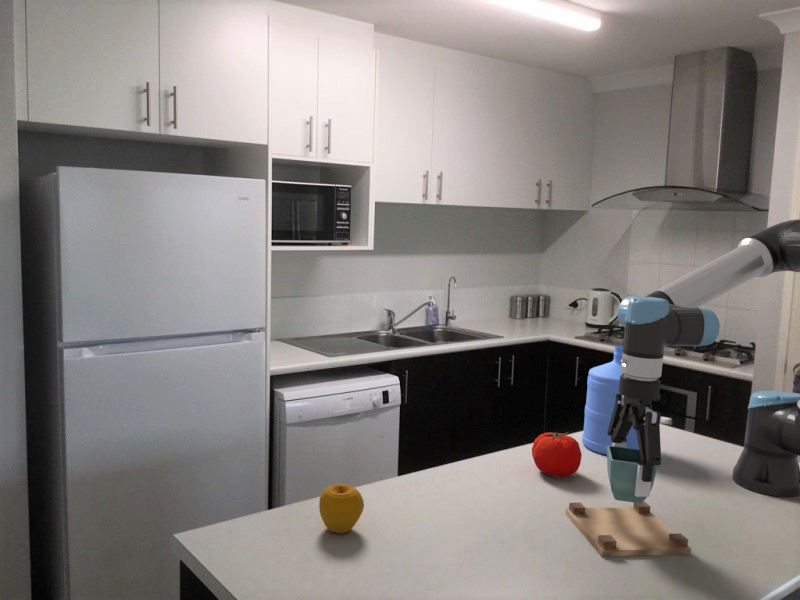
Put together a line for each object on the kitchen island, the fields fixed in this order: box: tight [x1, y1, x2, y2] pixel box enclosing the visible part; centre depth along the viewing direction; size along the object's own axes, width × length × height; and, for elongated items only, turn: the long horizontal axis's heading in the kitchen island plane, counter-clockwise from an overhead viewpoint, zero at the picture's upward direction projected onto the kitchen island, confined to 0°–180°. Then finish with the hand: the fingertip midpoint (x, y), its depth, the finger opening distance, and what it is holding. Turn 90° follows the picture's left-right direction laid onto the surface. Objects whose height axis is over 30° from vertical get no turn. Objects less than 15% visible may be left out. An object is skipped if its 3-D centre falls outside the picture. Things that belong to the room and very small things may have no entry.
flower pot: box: [606, 446, 659, 504], centre depth 139 cm, size 9×9×9 cm
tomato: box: [531, 431, 583, 478], centre depth 170 cm, size 12×12×10 cm
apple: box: [318, 483, 365, 535], centre depth 135 cm, size 8×8×9 cm
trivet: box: [565, 501, 692, 558], centre depth 141 cm, size 18×18×3 cm
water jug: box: [581, 345, 639, 456], centre depth 190 cm, size 16×16×28 cm
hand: (628, 484), depth 139 cm, fingers closed on flower pot, 10 cm apart
